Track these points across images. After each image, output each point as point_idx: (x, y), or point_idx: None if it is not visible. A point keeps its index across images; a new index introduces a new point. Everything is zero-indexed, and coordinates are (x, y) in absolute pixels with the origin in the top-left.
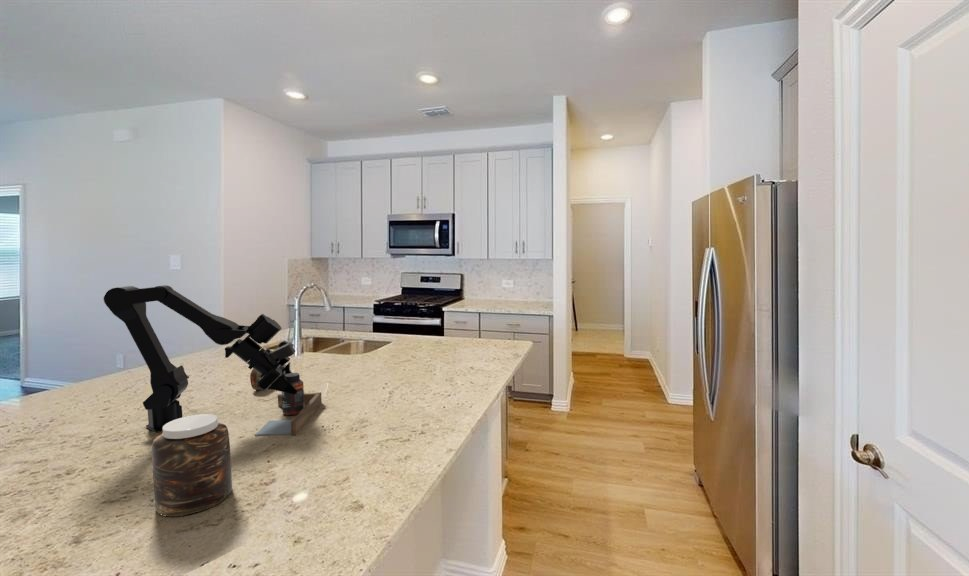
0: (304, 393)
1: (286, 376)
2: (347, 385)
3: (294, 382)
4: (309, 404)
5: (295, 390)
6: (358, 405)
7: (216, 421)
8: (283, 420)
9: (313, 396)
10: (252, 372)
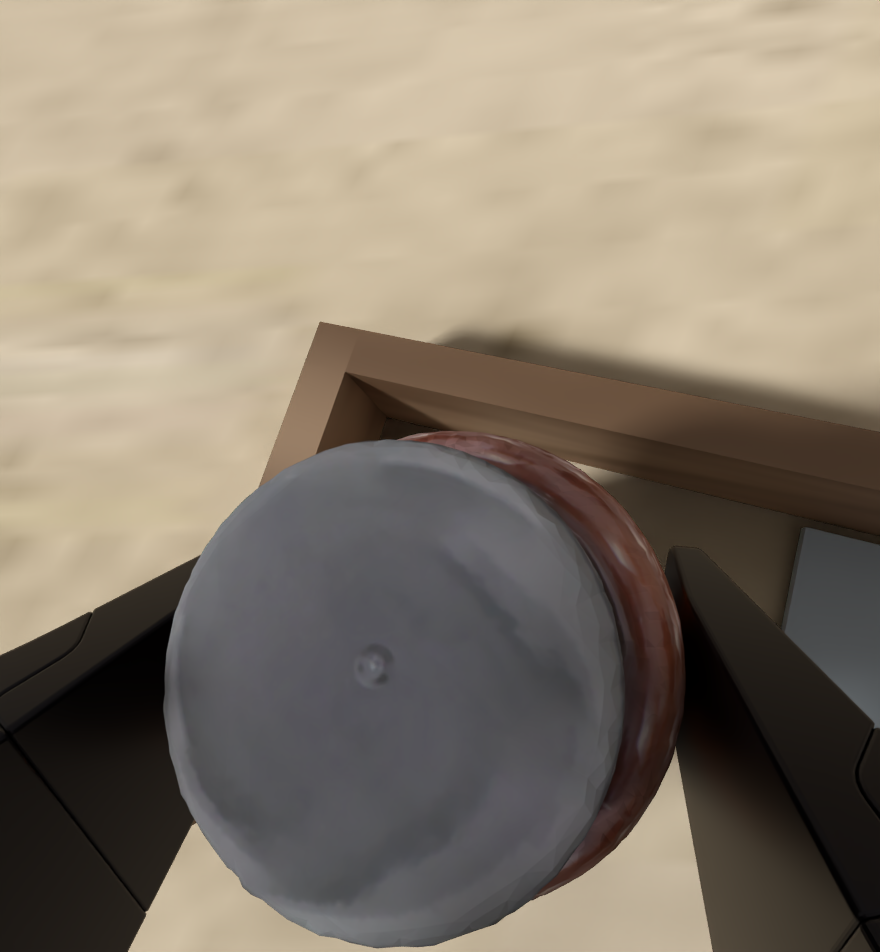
0: None
1: (538, 884)
2: (27, 205)
3: (607, 595)
4: (739, 422)
5: (726, 581)
6: (555, 81)
7: None
8: None
9: (348, 410)
10: None
